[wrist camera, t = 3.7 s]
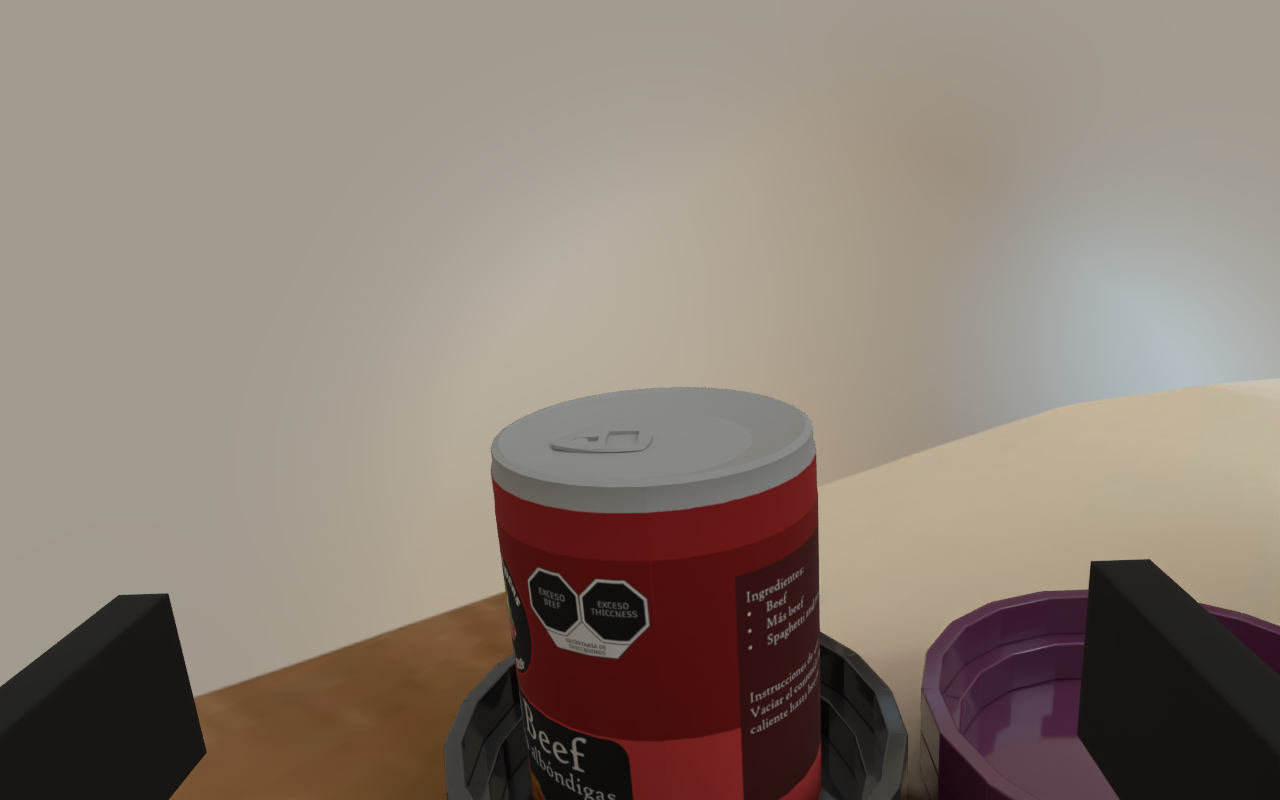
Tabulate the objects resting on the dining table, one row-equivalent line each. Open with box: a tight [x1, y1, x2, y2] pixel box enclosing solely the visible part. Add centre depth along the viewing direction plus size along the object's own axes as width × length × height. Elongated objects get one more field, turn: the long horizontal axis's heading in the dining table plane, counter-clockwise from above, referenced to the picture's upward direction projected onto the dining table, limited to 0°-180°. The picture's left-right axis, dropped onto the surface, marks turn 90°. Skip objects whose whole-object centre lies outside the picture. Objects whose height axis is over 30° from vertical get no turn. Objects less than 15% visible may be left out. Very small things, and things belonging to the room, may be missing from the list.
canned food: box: [491, 387, 822, 800], centre depth 23 cm, size 8×8×11 cm
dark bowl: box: [444, 632, 908, 800], centre depth 24 cm, size 12×12×3 cm
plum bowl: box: [920, 590, 1280, 800], centre depth 23 cm, size 12×12×3 cm
